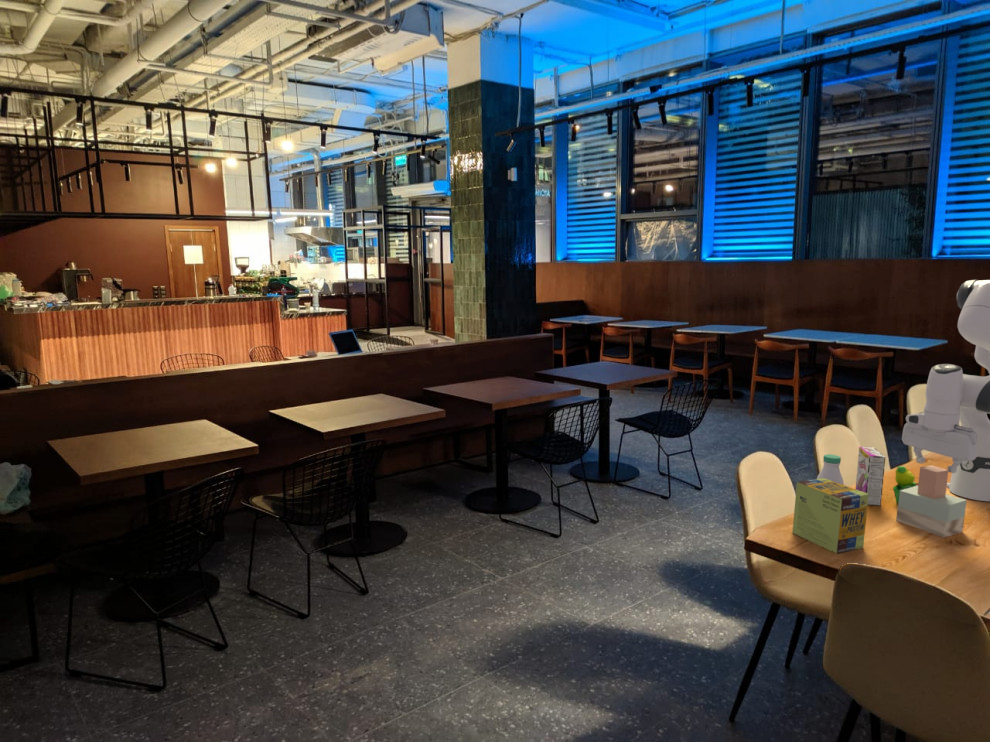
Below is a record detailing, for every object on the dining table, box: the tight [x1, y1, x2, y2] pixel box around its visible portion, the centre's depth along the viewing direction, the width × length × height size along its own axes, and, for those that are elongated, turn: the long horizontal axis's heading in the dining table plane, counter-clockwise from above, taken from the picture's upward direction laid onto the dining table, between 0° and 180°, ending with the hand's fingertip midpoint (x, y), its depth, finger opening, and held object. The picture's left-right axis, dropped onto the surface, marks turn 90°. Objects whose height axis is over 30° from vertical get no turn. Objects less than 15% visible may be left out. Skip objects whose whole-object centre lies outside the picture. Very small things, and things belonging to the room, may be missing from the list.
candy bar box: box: [855, 446, 886, 507], centre depth 224 cm, size 11×5×16 cm, turn 168°
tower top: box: [897, 486, 968, 522], centre depth 202 cm, size 9×14×5 cm, turn 30°
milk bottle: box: [816, 453, 845, 485], centre depth 206 cm, size 8×8×20 cm
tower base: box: [895, 506, 965, 539], centre depth 203 cm, size 9×14×5 cm, turn 26°
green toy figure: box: [892, 465, 919, 504], centre depth 223 cm, size 11×9×11 cm
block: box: [917, 464, 949, 499], centre depth 201 cm, size 5×5×8 cm
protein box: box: [791, 478, 869, 554], centre depth 192 cm, size 10×15×16 cm
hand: (935, 467), depth 200 cm, fingers open, 8 cm apart
